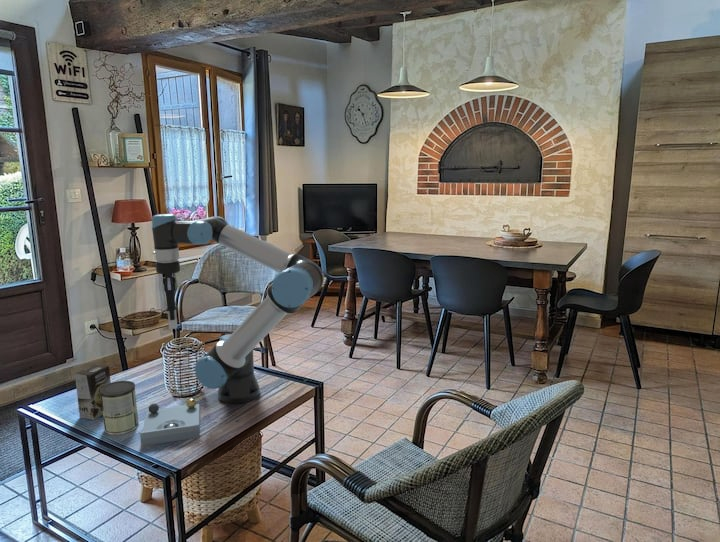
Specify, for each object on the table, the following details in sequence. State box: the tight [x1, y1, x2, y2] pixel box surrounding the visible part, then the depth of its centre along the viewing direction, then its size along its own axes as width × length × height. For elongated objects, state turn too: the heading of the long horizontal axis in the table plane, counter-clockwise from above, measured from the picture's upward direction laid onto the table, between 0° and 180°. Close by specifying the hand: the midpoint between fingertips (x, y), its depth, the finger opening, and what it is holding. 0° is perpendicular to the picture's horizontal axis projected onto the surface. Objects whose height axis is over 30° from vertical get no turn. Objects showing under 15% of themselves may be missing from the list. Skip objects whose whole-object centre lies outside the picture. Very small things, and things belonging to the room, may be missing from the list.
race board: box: [139, 403, 201, 447], centre depth 166 cm, size 17×19×4 cm
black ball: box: [148, 403, 160, 413], centre depth 170 cm, size 3×3×3 cm
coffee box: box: [74, 363, 112, 421], centre depth 174 cm, size 9×6×16 cm
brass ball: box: [186, 398, 197, 408], centre depth 174 cm, size 3×3×3 cm
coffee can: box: [100, 380, 139, 436], centre depth 165 cm, size 10×10×14 cm
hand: (173, 328), depth 175 cm, fingers closed
